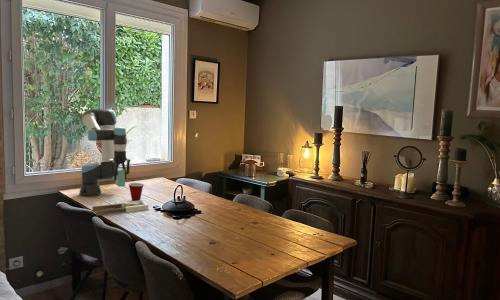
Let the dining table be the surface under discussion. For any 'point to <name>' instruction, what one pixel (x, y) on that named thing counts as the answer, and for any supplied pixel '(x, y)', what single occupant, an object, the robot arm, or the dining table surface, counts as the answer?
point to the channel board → (111, 211)
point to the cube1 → (128, 204)
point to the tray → (141, 206)
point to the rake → (121, 177)
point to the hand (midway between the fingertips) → (120, 184)
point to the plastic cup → (136, 191)
